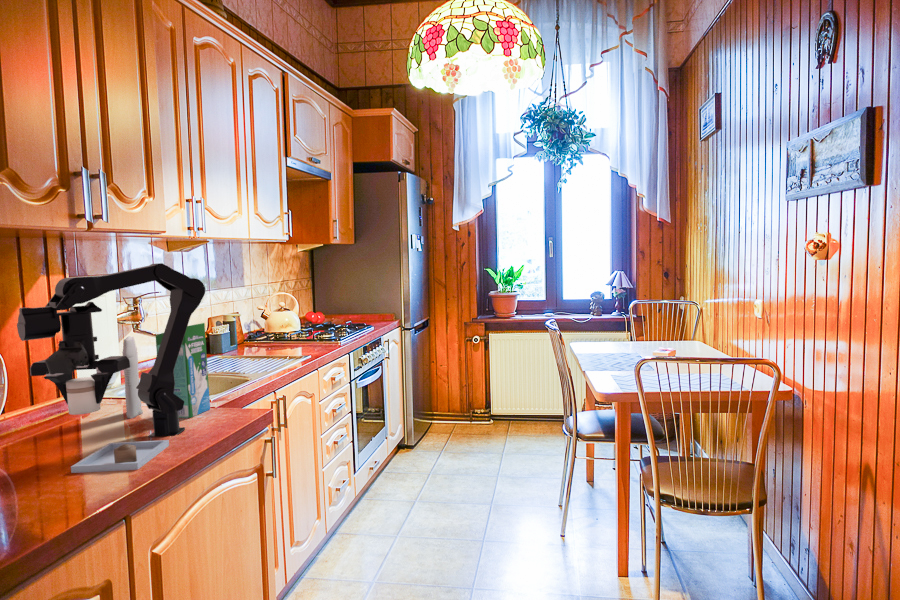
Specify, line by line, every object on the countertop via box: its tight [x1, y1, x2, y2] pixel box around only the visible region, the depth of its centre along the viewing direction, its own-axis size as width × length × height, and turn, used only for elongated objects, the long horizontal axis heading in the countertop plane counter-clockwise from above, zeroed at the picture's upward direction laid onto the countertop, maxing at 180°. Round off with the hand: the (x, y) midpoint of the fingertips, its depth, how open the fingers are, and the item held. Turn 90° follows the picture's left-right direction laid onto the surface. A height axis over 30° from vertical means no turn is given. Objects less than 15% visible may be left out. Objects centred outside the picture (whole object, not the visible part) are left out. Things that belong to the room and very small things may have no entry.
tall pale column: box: [122, 336, 144, 420], centre depth 163 cm, size 11×4×22 cm, turn 16°
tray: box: [70, 439, 170, 474], centre depth 125 cm, size 15×13×2 cm
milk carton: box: [155, 322, 211, 419], centre depth 162 cm, size 9×9×25 cm
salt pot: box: [114, 444, 137, 463], centre depth 121 cm, size 4×4×4 cm
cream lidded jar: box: [66, 376, 101, 416], centre depth 129 cm, size 6×6×7 cm
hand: (84, 404), depth 130 cm, fingers closed on cream lidded jar, 6 cm apart
